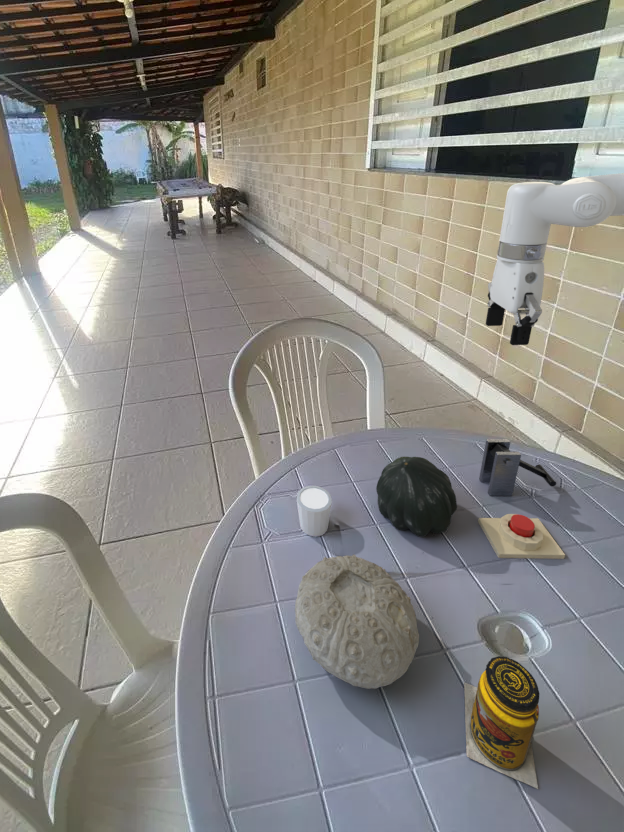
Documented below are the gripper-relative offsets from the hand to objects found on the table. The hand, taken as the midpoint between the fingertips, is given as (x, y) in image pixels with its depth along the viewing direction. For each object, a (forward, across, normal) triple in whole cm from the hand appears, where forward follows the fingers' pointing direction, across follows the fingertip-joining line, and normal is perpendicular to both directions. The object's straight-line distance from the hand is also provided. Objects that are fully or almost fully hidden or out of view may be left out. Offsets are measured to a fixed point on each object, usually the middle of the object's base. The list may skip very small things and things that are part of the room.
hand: (505, 334), depth 86 cm
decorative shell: (+33, -38, +36) cm, 62 cm away
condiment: (+33, -49, +20) cm, 63 cm away
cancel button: (+29, -21, +3) cm, 36 cm away
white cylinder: (+33, -17, +40) cm, 55 cm away
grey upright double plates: (+33, -8, +1) cm, 34 cm away
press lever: (+27, -8, -3) cm, 28 cm away
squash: (+33, -15, +20) cm, 42 cm away
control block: (+33, -21, +3) cm, 40 cm away
